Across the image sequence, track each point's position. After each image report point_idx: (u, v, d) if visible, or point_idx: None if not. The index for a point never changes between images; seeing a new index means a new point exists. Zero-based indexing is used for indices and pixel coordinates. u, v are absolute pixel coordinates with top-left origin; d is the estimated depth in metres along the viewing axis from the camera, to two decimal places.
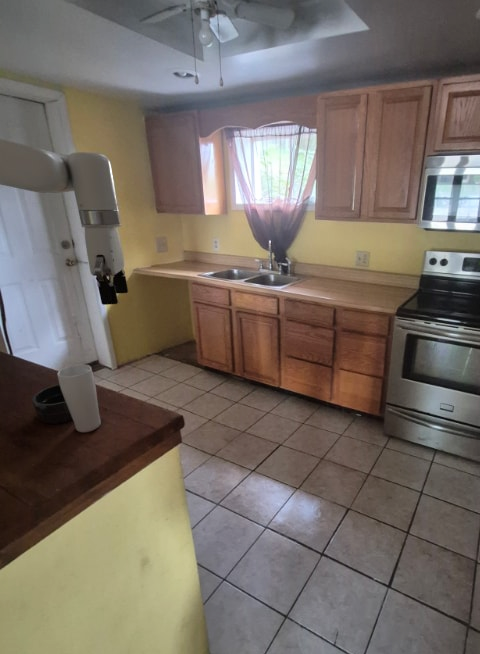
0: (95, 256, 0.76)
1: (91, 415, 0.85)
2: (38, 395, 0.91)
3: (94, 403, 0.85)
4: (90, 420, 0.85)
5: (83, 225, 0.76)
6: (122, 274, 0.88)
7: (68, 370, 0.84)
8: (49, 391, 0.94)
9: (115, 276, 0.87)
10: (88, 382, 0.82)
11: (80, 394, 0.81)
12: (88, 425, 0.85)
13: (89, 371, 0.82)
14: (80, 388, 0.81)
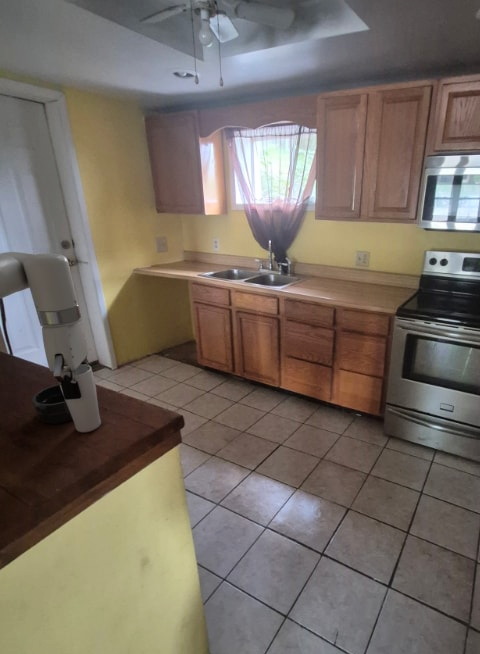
0: (53, 355, 0.75)
1: (91, 415, 0.85)
2: (38, 395, 0.91)
3: (95, 403, 0.85)
4: (90, 420, 0.85)
5: (41, 324, 0.75)
6: (85, 364, 0.86)
7: None
8: (49, 391, 0.94)
9: None
10: (88, 382, 0.82)
11: None
12: (88, 425, 0.85)
13: (89, 371, 0.82)
14: (80, 388, 0.81)
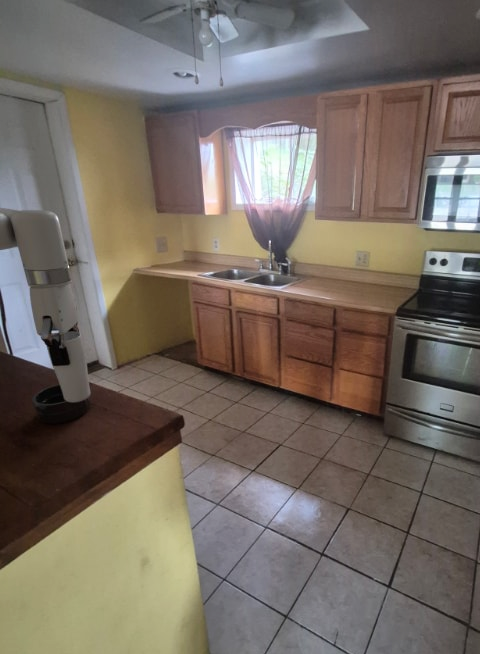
0: (41, 317, 0.72)
1: (81, 385, 0.82)
2: (38, 395, 0.91)
3: (84, 372, 0.82)
4: (79, 390, 0.82)
5: (29, 284, 0.71)
6: (75, 331, 0.83)
7: (57, 337, 0.81)
8: (49, 391, 0.94)
9: None
10: (78, 349, 0.79)
11: None
12: (77, 395, 0.82)
13: (79, 338, 0.79)
14: (69, 355, 0.78)
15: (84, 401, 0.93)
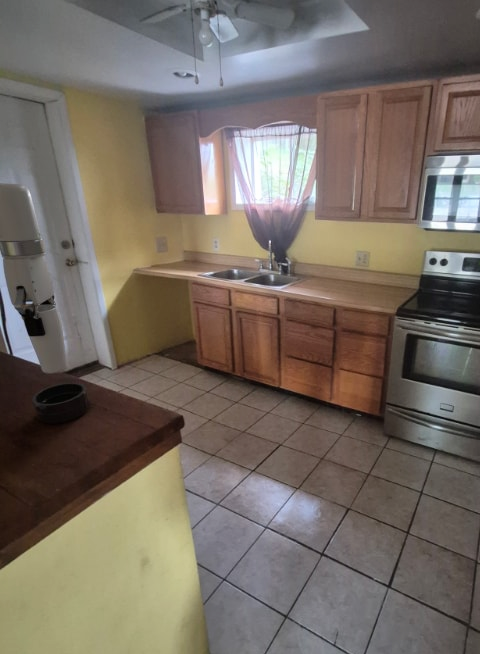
0: (15, 287, 0.75)
1: (57, 356, 0.84)
2: (38, 395, 0.91)
3: (60, 343, 0.85)
4: (56, 361, 0.85)
5: (2, 256, 0.74)
6: None
7: None
8: (49, 391, 0.94)
9: None
10: (53, 320, 0.82)
11: None
12: (54, 366, 0.85)
13: (54, 309, 0.82)
14: (44, 326, 0.80)
15: (84, 401, 0.93)
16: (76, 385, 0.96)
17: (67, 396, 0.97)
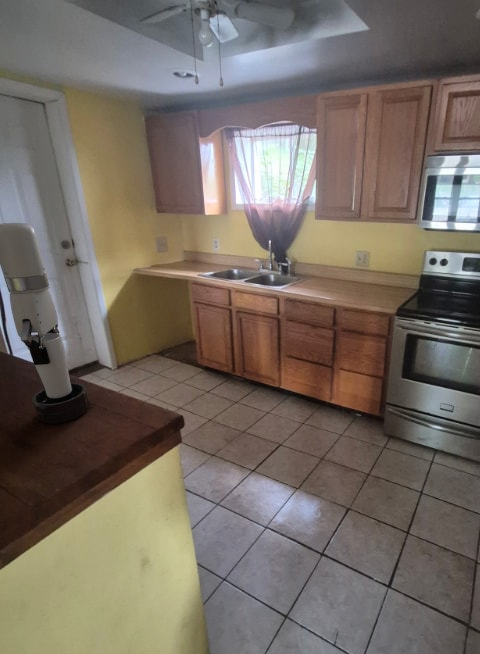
0: (21, 320, 0.79)
1: (61, 382, 0.89)
2: (38, 395, 0.91)
3: (64, 370, 0.89)
4: (60, 386, 0.89)
5: (9, 290, 0.78)
6: None
7: None
8: None
9: None
10: (57, 349, 0.86)
11: None
12: (58, 391, 0.89)
13: (58, 338, 0.86)
14: (49, 354, 0.85)
15: (84, 401, 0.93)
16: (76, 385, 0.96)
17: (67, 396, 0.97)
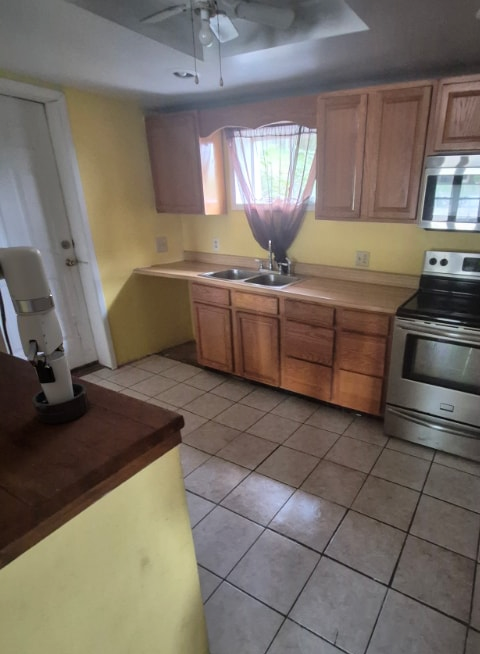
0: (27, 341, 0.81)
1: (66, 399, 0.91)
2: (38, 395, 0.91)
3: (69, 387, 0.91)
4: None
5: (16, 312, 0.80)
6: (61, 351, 0.91)
7: None
8: None
9: None
10: (62, 367, 0.88)
11: None
12: None
13: (63, 357, 0.88)
14: (54, 373, 0.86)
15: (84, 401, 0.93)
16: (76, 385, 0.96)
17: None
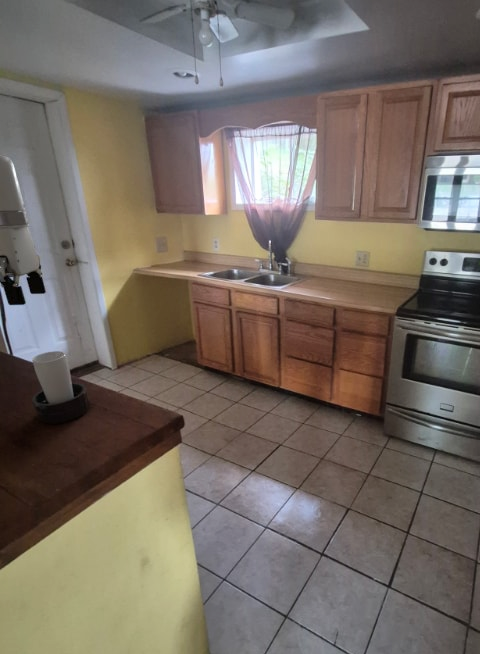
0: None
1: (66, 399, 0.91)
2: (38, 395, 0.91)
3: (69, 387, 0.91)
4: None
5: None
6: (38, 275, 0.88)
7: (44, 356, 0.90)
8: None
9: (31, 277, 0.87)
10: (62, 367, 0.88)
11: (54, 378, 0.87)
12: None
13: (63, 357, 0.88)
14: (54, 373, 0.86)
15: (84, 401, 0.93)
16: (76, 385, 0.96)
17: None
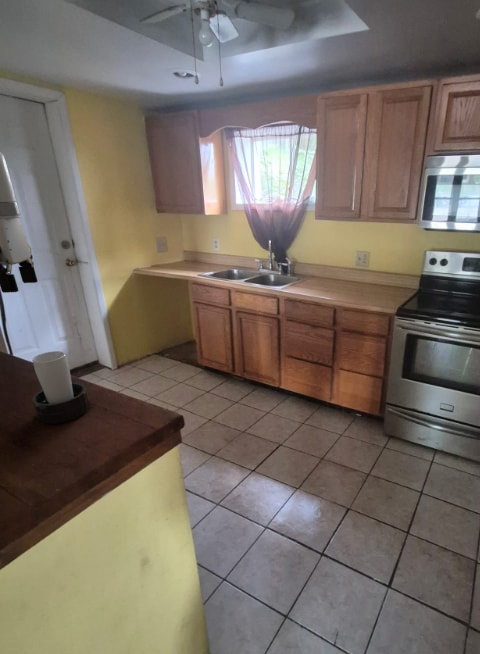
0: None
1: (66, 399, 0.91)
2: (38, 395, 0.91)
3: (69, 387, 0.91)
4: None
5: None
6: (30, 264, 0.92)
7: (44, 356, 0.90)
8: None
9: (23, 266, 0.91)
10: (62, 367, 0.88)
11: (54, 378, 0.87)
12: None
13: (63, 357, 0.88)
14: (54, 373, 0.86)
15: (84, 401, 0.93)
16: (76, 385, 0.96)
17: None
